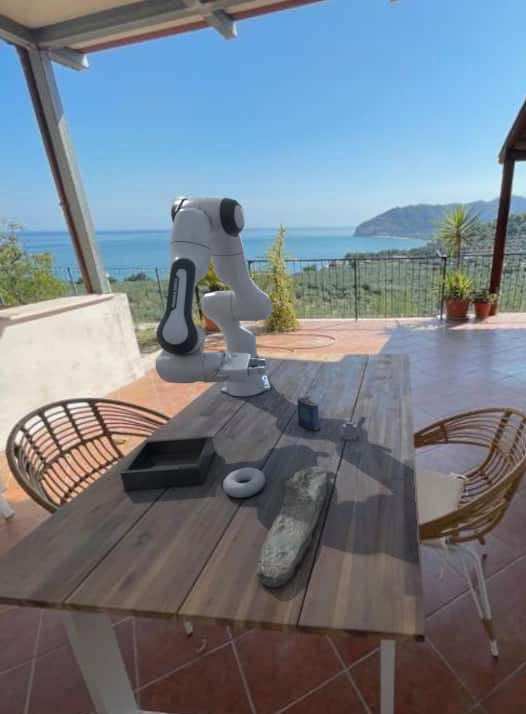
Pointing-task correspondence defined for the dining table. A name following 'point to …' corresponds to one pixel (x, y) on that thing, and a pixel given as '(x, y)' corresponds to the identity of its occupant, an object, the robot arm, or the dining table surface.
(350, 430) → the lighter
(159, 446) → the tray
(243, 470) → the donut
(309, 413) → the flask
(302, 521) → the elongated rock
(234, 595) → the dining table surface
